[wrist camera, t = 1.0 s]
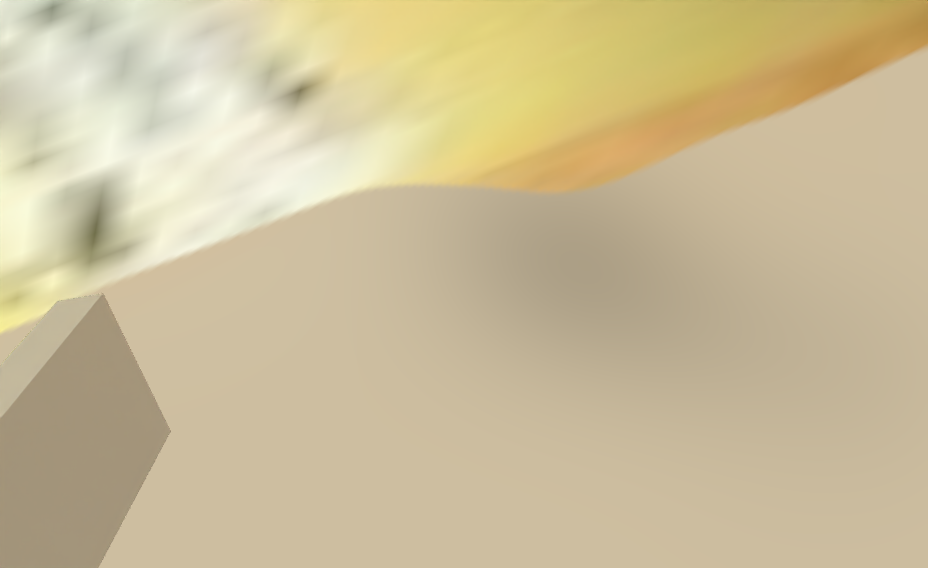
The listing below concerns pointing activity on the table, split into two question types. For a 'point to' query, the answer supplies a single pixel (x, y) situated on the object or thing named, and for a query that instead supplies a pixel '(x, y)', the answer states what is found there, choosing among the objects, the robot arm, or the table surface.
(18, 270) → the table surface
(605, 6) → the table surface
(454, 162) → the table surface
